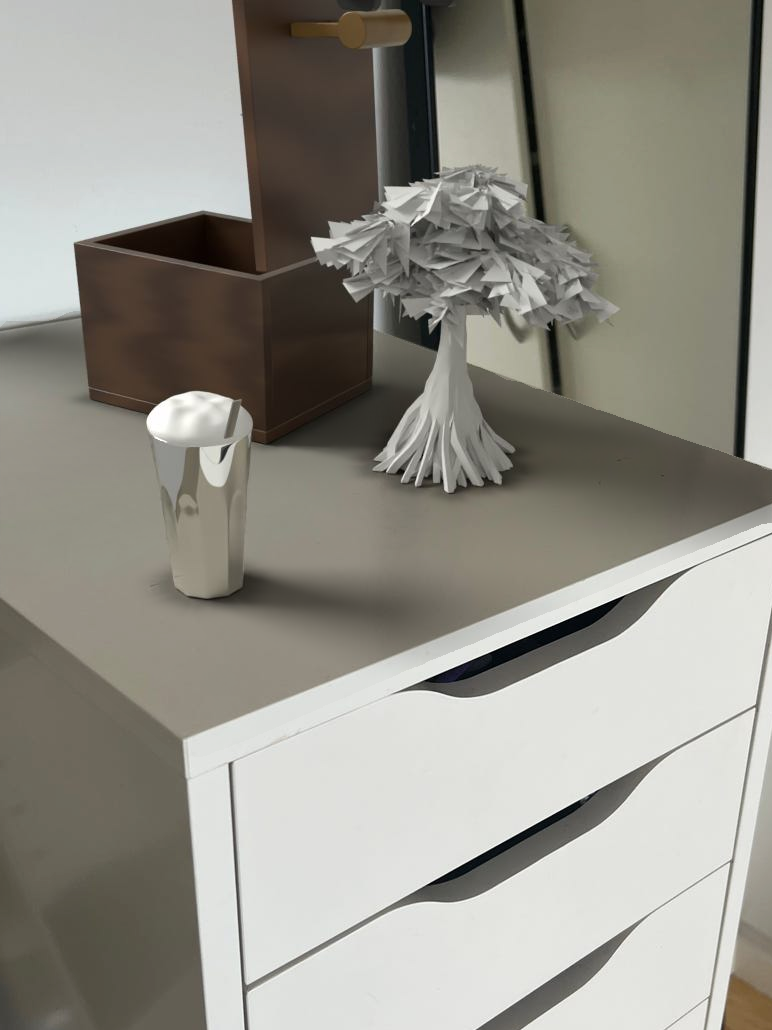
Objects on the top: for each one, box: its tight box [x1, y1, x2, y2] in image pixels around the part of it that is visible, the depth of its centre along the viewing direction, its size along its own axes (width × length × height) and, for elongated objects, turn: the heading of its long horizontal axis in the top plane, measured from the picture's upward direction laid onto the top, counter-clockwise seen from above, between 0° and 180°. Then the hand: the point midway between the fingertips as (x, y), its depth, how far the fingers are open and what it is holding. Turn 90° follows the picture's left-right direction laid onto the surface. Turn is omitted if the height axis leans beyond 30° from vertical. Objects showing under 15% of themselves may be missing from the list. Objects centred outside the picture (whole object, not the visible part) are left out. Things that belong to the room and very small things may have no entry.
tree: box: [310, 163, 621, 494], centre depth 68 cm, size 18×16×17 cm
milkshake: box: [146, 391, 253, 600], centre depth 55 cm, size 4×5×10 cm
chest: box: [73, 209, 375, 445], centre depth 78 cm, size 14×13×10 cm
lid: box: [231, 0, 413, 272], centre depth 69 cm, size 14×13×6 cm
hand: (400, 8), depth 65 cm, fingers open, 8 cm apart
